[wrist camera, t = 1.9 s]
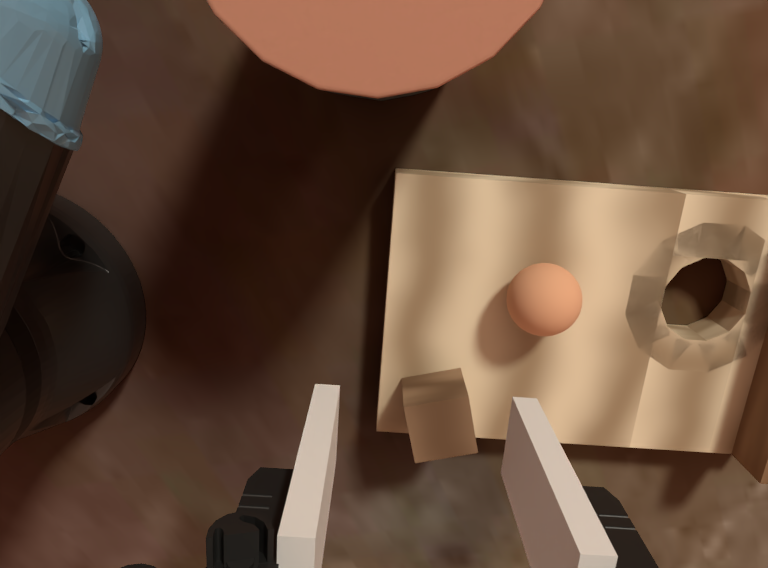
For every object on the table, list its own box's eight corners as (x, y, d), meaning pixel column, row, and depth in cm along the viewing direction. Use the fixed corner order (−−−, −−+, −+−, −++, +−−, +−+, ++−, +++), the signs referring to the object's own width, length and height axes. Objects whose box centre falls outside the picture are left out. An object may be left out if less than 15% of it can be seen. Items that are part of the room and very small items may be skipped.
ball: (495, 318, 34) (509, 345, 31) (505, 252, 33) (520, 272, 29) (563, 323, 34) (585, 350, 31) (574, 257, 33) (599, 277, 29)
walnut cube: (412, 429, 37) (415, 463, 33) (401, 377, 36) (403, 407, 32) (469, 419, 36) (478, 452, 33) (460, 367, 35) (468, 396, 32)
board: (376, 411, 39) (375, 459, 34) (395, 168, 34) (397, 179, 29) (746, 435, 39) (802, 486, 34) (815, 198, 35) (892, 215, 29)
